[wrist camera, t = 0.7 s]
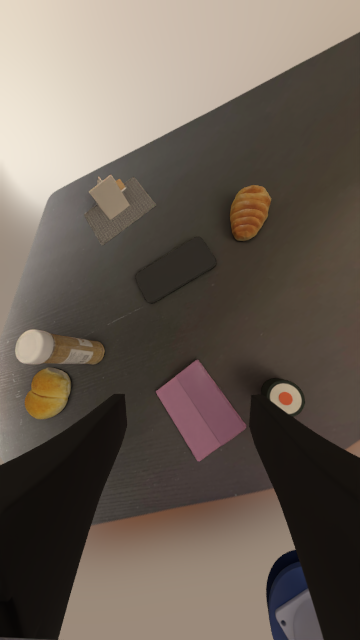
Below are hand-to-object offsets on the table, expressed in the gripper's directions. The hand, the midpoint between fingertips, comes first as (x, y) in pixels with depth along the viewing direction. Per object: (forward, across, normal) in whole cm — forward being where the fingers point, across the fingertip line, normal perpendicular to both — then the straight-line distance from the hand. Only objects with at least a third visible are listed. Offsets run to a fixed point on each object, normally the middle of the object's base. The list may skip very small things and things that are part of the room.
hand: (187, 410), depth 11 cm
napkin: (+18, -2, +13) cm, 22 cm away
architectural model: (+39, +16, -23) cm, 48 cm away
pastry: (+31, -12, -18) cm, 37 cm away
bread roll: (+24, +26, +14) cm, 38 cm away
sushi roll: (+17, -13, +10) cm, 23 cm away
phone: (+29, +2, -8) cm, 30 cm away
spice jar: (+26, +18, +7) cm, 32 cm away
